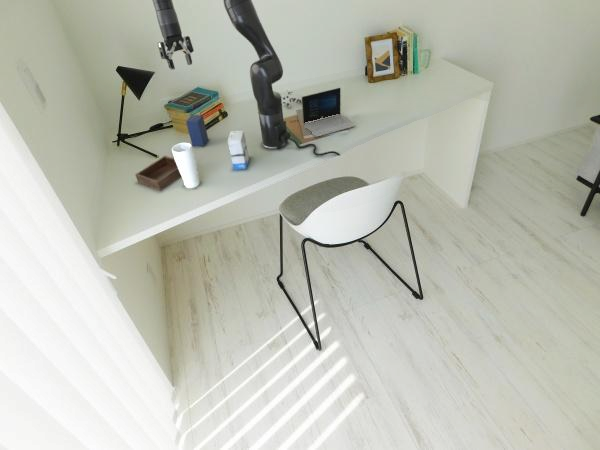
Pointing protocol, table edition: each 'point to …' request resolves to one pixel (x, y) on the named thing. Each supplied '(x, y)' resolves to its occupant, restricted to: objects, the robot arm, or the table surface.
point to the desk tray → (159, 173)
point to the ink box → (238, 149)
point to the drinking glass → (186, 164)
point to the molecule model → (290, 99)
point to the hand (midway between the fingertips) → (181, 67)
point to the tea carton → (197, 130)
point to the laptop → (323, 112)
